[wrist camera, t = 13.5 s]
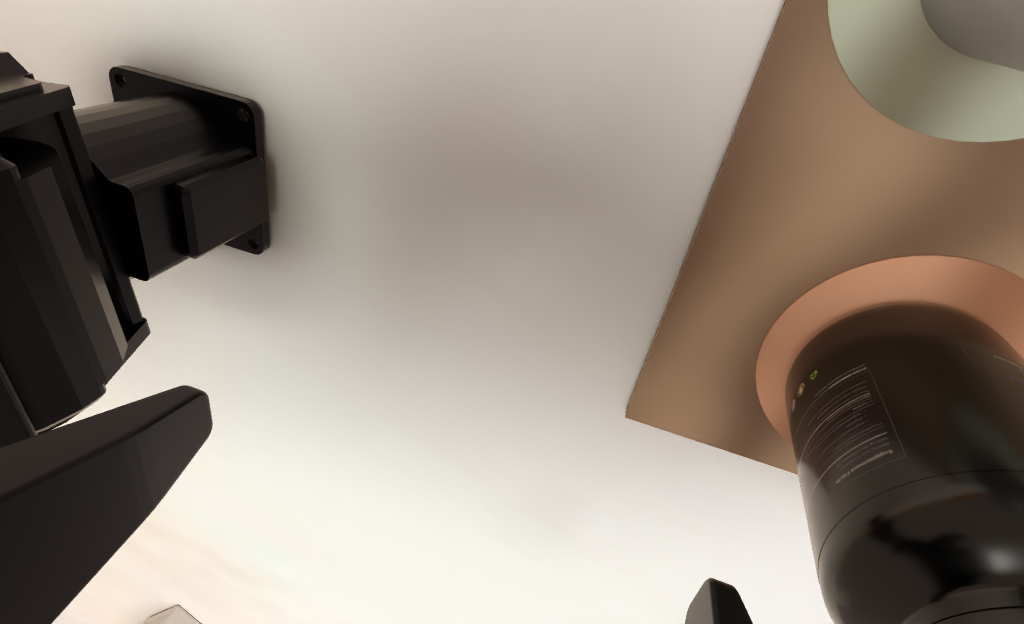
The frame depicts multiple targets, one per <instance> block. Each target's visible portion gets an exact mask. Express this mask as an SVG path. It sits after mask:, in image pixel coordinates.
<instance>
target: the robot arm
mask: <svg viewBox="0 0 1024 624" xmlns="http://www.w3.org/2000/svg"><path fill="white" fill-rule="evenodd" d="M123 77H124V79H125V81H124V79H123ZM109 78H110V83H111V88H112V93H113V98H114V102H113V103H108V104H103V105H98V106H93V107H88V108H83V109H78V110H73V107H72V106H75V102H74V99H73V96H72V93H71V90H70V87H69V86H68V85H62V84H54V83H47V82H40V81H37V80H35V79H34V76H33V74H32V73H28V72H27V71H26V70H25V69H24V68H23V67H22V66H21V65H20V64H19V63H18V62H17V61H16V60H15V59H14V58H13V57H12V56H11V54H10V53H9V52H2V51H0V624H52V623H53V621H54V620H55V619H56V618H57V617H58V616H59V615H60V614H61V613H62V611H63V610H64V609H65V608H66V607H67V606H68V605H69V604H70V603H71V601H72V600H73V599H74V598H75V597H76V596H77V595H78V594H79V593H80V591H81V590H82V589H83V588H84V587H85V586H86V585H87V584H88V583H89V581H90V580H91V579H92V578H93V577H94V576H95V575H96V574H97V573H98V571H99V570H100V569H101V568H102V567H103V566H104V565H105V564H106V563H107V562H108V560H109V559H110V558H111V557H112V556H113V555H114V554H115V553H116V552H117V550H118V549H119V548H120V547H121V546H122V545H123V544H124V543H125V542H126V540H127V539H128V538H129V537H130V536H131V535H132V534H133V533H134V532H135V530H136V529H137V528H138V527H139V526H140V525H141V524H142V523H143V522H144V520H145V519H146V518H147V517H148V516H149V515H150V513H151V512H152V511H153V510H154V509H155V508H156V506H157V505H158V504H159V503H160V501H161V500H162V499H163V497H164V496H165V495H166V493H167V492H168V491H169V489H170V488H171V487H172V485H173V484H174V483H175V481H176V480H177V479H178V477H179V476H180V475H181V473H182V472H183V471H184V469H185V468H186V467H187V465H188V464H189V463H190V461H191V460H192V458H193V457H194V456H195V454H196V453H197V452H198V450H199V449H200V448H201V446H202V445H203V444H204V442H205V441H206V440H207V438H208V437H209V435H210V433H211V430H212V425H213V423H212V416H211V410H210V403H209V398H208V395H207V394H206V392H204V391H202V390H199V389H196V388H194V387H191V386H185V385H184V386H179V387H176V388H173V389H170V390H167V391H164V392H161V393H158V394H155V395H152V396H150V397H147V398H144V399H141V400H138V401H135V402H132V403H129V404H126V405H123V406H120V407H117V408H114V409H112V410H109V411H106V412H103V413H100V414H97V415H94V416H91V417H88V418H85V419H82V420H79V421H76V422H74V423H71V424H68V425H65V426H62V427H59V428H56V427H58V426H60V425H62V424H64V423H66V422H67V421H69V420H70V419H72V418H73V417H74V416H76V415H77V414H79V413H80V412H82V411H83V410H85V409H86V408H88V407H89V406H90V405H92V404H93V403H95V402H96V401H98V400H99V399H100V398H101V397H102V396H103V395H104V393H105V392H106V387H105V385H106V384H107V383H108V382H109V380H110V379H111V378H112V377H113V376H114V375H115V373H116V372H117V371H118V370H119V369H120V368H121V366H122V365H123V364H124V363H125V362H126V361H127V360H128V358H129V357H130V356H131V355H132V354H133V353H134V351H135V350H136V349H137V348H138V347H139V346H140V344H141V343H142V342H143V341H144V340H145V339H146V337H147V336H148V335H149V334H150V329H149V326H148V323H147V320H146V319H145V318H143V317H142V314H141V311H140V308H139V305H138V302H137V299H136V296H135V293H134V290H133V287H132V284H131V281H130V280H131V279H133V278H137V279H140V280H143V281H148V280H149V279H151V278H153V277H155V276H157V275H159V274H161V273H163V272H164V271H166V270H168V269H170V268H172V267H174V266H176V265H177V264H179V263H181V262H183V261H185V260H187V259H189V258H193V259H196V258H199V257H201V256H203V255H204V254H206V253H208V252H210V251H212V250H214V249H215V248H217V247H219V246H221V245H223V244H224V245H227V246H230V247H233V248H237V249H240V250H243V251H246V252H249V253H252V254H257V255H258V254H261V253H263V252H264V251H266V250H267V249H268V248H269V229H268V209H267V194H266V178H265V164H264V152H263V137H262V121H261V113H260V110H259V108H258V106H257V105H256V104H255V103H254V102H253V101H251V100H249V99H246V98H242V97H238V96H235V95H231V94H227V93H224V92H220V91H216V90H213V89H209V88H205V87H202V86H198V85H195V84H191V83H187V82H184V81H180V80H176V79H173V78H169V77H165V76H162V75H158V74H154V73H151V72H147V71H143V70H140V69H136V68H132V67H129V66H117V67H113V68H111V69H110V72H109ZM244 109H245V110H246V111H247V112H248V116H249V118H247V117H246V116H245V113H244ZM254 239H255V240H256V241H257V242H258V244H257V243H256V242H255V240H254ZM54 428H56V429H54ZM52 429H53V430H52ZM685 624H753V623H752V621H751V619H750V616H749V614H748V612H747V610H746V608H745V606H744V604H743V602H742V599H741V597H740V595H739V593H738V591H737V590H736V589H735V588H734V587H733V586H732V585H730V584H727V583H724V582H721V581H719V580H716V579H713V578H709V579H707V580H706V581H705V582H704V584H703V585H702V587H701V588H700V590H699V591H698V593H697V595H696V596H695V598H694V599H693V601H692V602H691V604H690V606H689V608H688V611H687V615H686V620H685Z"/></svg>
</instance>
